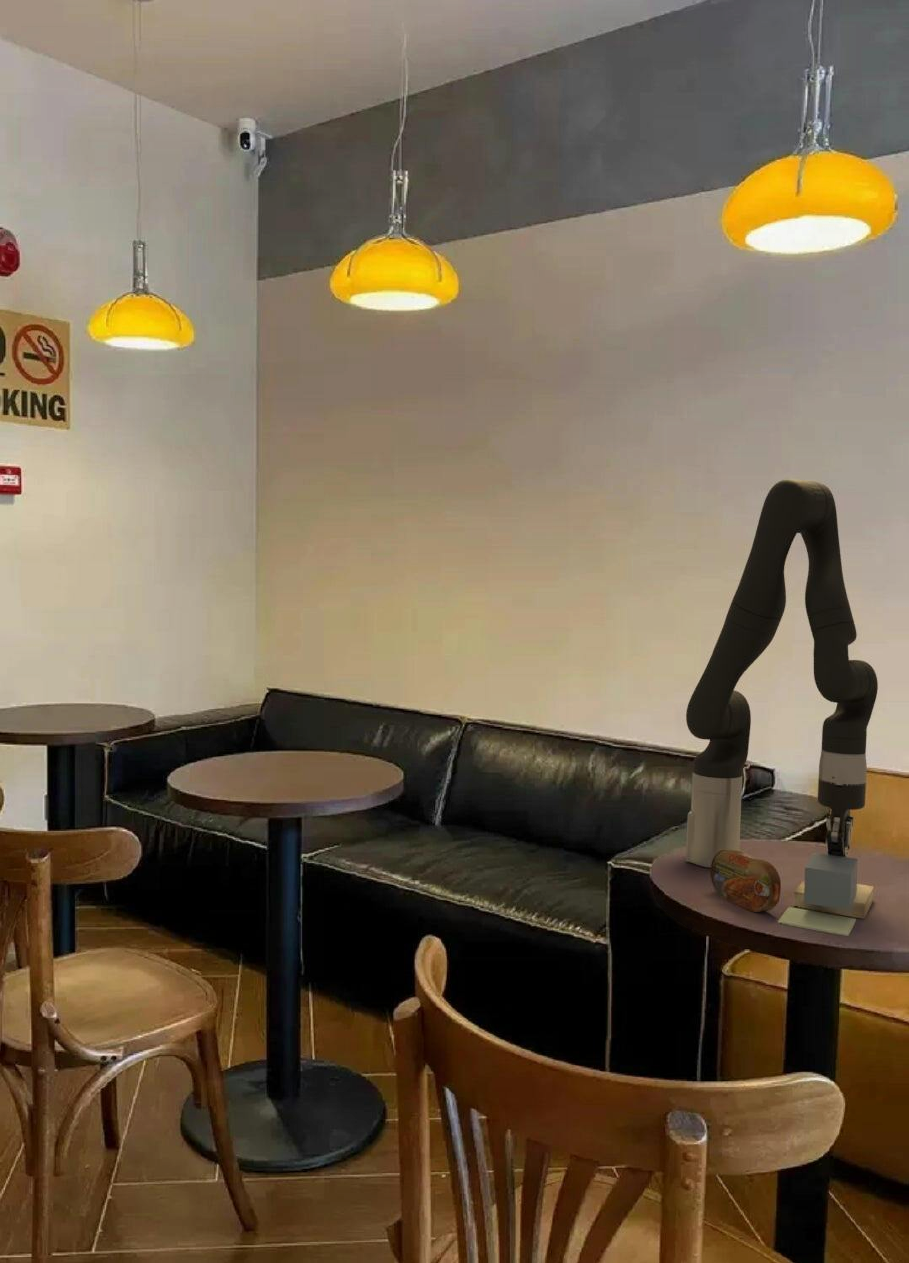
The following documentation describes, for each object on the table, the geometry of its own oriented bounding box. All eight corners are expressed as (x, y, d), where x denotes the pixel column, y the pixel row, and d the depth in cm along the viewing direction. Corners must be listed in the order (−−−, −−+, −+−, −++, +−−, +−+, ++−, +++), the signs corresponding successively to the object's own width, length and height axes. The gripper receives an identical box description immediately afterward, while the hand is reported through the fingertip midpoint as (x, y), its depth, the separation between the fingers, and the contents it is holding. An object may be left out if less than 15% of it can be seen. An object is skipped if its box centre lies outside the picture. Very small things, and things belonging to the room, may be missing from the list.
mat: (777, 923, 160) (777, 921, 160) (788, 908, 167) (788, 907, 167) (848, 936, 154) (848, 934, 154) (856, 920, 162) (856, 919, 162)
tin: (707, 892, 175) (710, 844, 175) (722, 890, 176) (724, 842, 176) (767, 919, 162) (770, 867, 161) (783, 917, 163) (785, 866, 162)
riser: (793, 906, 168) (794, 891, 168) (806, 889, 178) (807, 875, 178) (864, 919, 163) (865, 903, 163) (873, 901, 172) (873, 886, 172)
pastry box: (803, 903, 163) (805, 867, 163) (812, 886, 170) (813, 852, 170) (849, 910, 160) (851, 874, 159) (856, 893, 167) (857, 858, 166)
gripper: (825, 769, 178) (820, 866, 178) (812, 781, 166) (807, 885, 167) (870, 774, 174) (865, 873, 175) (860, 787, 162) (855, 893, 163)
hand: (837, 878), depth 171 cm, fingers closed
